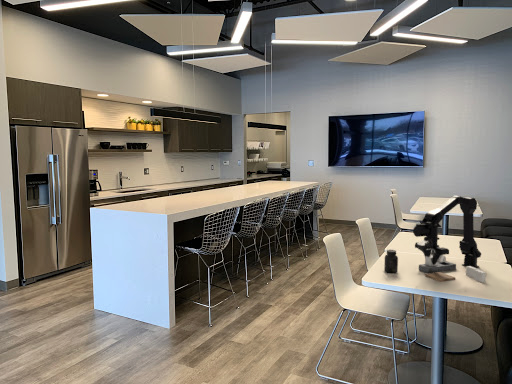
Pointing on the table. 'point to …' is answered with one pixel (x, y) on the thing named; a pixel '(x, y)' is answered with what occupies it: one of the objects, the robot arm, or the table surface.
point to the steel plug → (429, 261)
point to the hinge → (441, 258)
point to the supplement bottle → (391, 262)
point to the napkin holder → (475, 273)
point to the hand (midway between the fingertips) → (430, 263)
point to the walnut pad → (440, 276)
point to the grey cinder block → (438, 267)
